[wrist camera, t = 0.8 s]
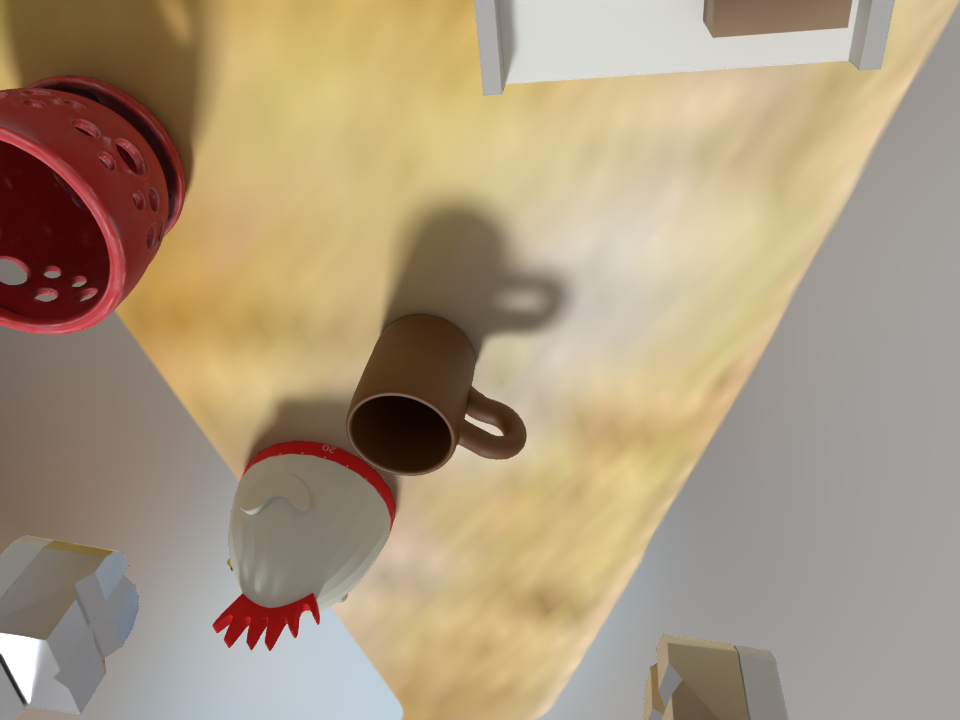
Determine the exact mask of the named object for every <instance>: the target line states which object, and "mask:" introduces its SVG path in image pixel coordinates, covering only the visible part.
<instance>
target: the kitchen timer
mask: <svg viewBox="0 0 960 720" xmlns="http://www.w3.org/2000/svg"><path fill="white" fill-rule="evenodd" d="M394 512H395V504H394V500H393V497H392V494H391V491H390V489H389V487H388V486H387V485H386V483H385V482H384V480H383V479H382V478H381V476H380V475H379V473H377V472H376V471H375V470H374V469H373V468H371V467H370V466H369V465H368V464H367V463H365V462H364V461H363V460H362V459H360V458H358V457H356V456H354V455H352V454H350V453H348V452H346V451H344V450H342V449H340V448H336V447H333V446H329V445H326V444H322V443H318V442H304V441H293V442H287V443H281V444H275V445H273V446H271V447H269V448H267V449H265V450H263V451H261V452H259V453H258V454H257V456H256V457H255V458H254V459H253V460H252V461H251V462H250V463H249V464H248V466H247V468H246V470H245V472H244V473H243V475H242V477H241V480H240V482H239V485H238V488H237V491H236V494H235V497H234V501H233V505H232V510H231V517H230V525H229V534H228V546H229V554H230V558H229V560H228V562H227V563H228V565H229V567H230V568H231V570H232V572H233V575H234V578H235V581H236V583H237V585H238V587H239V589H240V590H241V592H242V595H241V596H239V597H238V598H237V599H236V600H235V601H234V602H233V603H232V604H231V605H230V606H229V607H228V608H227V609H226V610H225V611H224V612H223V613H222V614H221V615H220V617H219V618H218V619H217V620H216V621H215V623H214V624H213V628H214V629H215V631H216V633H219V632H220V631H221V630H223V629H224V628H225V627H226V626H228V625H229V624H230V625H229V628H228V630H227V632H226V635H225V638H224V641H225V643H226V644H227V646H228V647H229V648H230V647H231V646H232V645H233V644H234V642H235V641H236V640H237V639H238V637H239V636H240V635H241V634H242V632H243V631H244V629H245V628H246V627H247V626H249V629H248V634H247V644H248V646H249V648H250V649H251V650H252V649H253V648H254V646H255V645H256V643H257V641H258V640H259V638H260V636H261V634H262V633H263V631H264V629H265V628H266V627H267V630H266V637H265V644H266V646H267V648H268V649H269V651H271V649H272V648H273V646H274V644H275V643H276V641H277V639H278V637H279V636H280V634H281V632H282V630H283V628H284V627H285V625H286V624H288V626H289V629H290V631H291V633H292V635H293V636H294V638H296V637H297V635H298V628H299V619H302V618H305V617H308V616H311V615H313V617H314V619H315V621H316V623H317V624H319V621H320V615H319V612H322V611H324V610H325V609H327V608H329V607H331V606H332V605H333V604H335V603H336V602H337V603H342V602H344V601H345V600H346V599H347V596H348V593H349V592H350V591H351V590H352V589H353V588H355V586H356V585H357V584H358V583H359V582H360V581H361V579H362V578H363V577H364V576H365V574H366V573H367V572H368V570H369V569H370V568H371V566H372V565H373V564H374V562H375V561H376V559H377V557H378V556H379V554H380V552H381V550H382V548H383V547H384V545H385V543H386V541H387V539H388V537H389V535H390V532H391V528H392V525H393V521H394Z"/></svg>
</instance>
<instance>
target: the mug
mask: <svg viewBox="0 0 960 720" xmlns="http://www.w3.org/2000/svg"><path fill="white" fill-rule="evenodd" d="M474 370H475V357H474V352H473V349H472V346H471V344H470V342H469V340H468V339H467V337H466V336H465V335H464V334H463V333H462V332H461V331H460V330H459V329H458V328H457V327H456V326H454V325H453V324H451V323H450V322H448V321H446V320H444V319H441V318H438V317H435V316H430V315H412V316H407V317H403V318H401V319H398V320H396V321H395V322H393V323H392V324H390V325H389V326H388V327H387V328H386V329H385V330H384V331H383V333H382V334H381V336H380V337H379V339H378V341H377V343H376V345H375V347H374V350H373V352H372V354H371V356H370V359H369V361H368V363H367V365H366V367H365V370H364V372H363V374H362V377H361V379H360V381H359V384H358V386H357V389H356V391H355V393H354V396H353V399H352V402H351V405H350V409H349V412H348V415H347V420H346V430H347V435H348V438H349V440H350V443H351V445H352V446H353V448H354V449H355V451H356V452H357V453H358V454H359V455H360V456H361V457H362V458H363V459H364V460H366V461H367V462H368V463H370V464H371V465H373V466H375V467H377V468H379V469H381V470H383V471H386V472H389V473H392V474H397V475H405V476H416V475H423V474H427V473H430V472H433V471H435V470H437V469H439V468H440V467H442V466H443V465H444V464H445V463H446V462H447V461H448V460H449V459H450V458H451V457H452V455H453V453H454V451H455V449H456V446H457V445H461V446H463V447H465V448H467V449H468V450H470V451H472V452H474V453H476V454H478V455H479V456H482V457H485V458H489V459H496V460H497V459H508V458H511V457H513V456H515V455H517V454H518V453H519V452H520V451H521V450H522V449H523V447H524V445H525V442H526V436H527V435H526V428H525V426H524V423H523V421H522V419H521V418H520V417H519V415H518V414H517V413H516V412H515V411H514V410H513V409H511V408H510V407H508V406H507V405H505V404H503V403H500V402H498V401H495V400H492V399H489V398H486V397H485V396H484V395H483V394H481V393H479V392H478V391H477V390H476V389H475V388H474V387H472V381H473V376H474ZM465 414H468V415H469V416H470V417H472V418H474V419H476V420H478V421H481V422H485V423H488V424H491V425H494V426H496V427H497V428H499V429H500V430H501V431H502V433H503V435H504V436H495V435H492V434H490V433H488V432H486V431H484V430H482V429H481V428H479V427H477V426H475V425H473V424H471V423H469V422H468V421H466V420H465V419H464V418H465Z"/></svg>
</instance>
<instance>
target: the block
mask: <svg viewBox="0 0 960 720" xmlns="http://www.w3.org/2000/svg"><path fill="white" fill-rule="evenodd" d="M851 6H852V0H704V10H703V22H704V24H705V25H706V27H707V29H708V30H709V32H710V34H711V36H712V37H713V38H719V37H732V36H745V35H758V34H772V33H785V32H798V31H811V30H824V29H837V28H848V23H849V18H850V12H851Z"/></svg>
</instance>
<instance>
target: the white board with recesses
mask: <svg viewBox="0 0 960 720" xmlns="http://www.w3.org/2000/svg"><path fill="white" fill-rule="evenodd" d="M474 1H475V12H476V22H477V33H478V44H479V54H480V65H481V75H482V86H483V96H487V95H501V94H502V93H503V90H504V87H505V84H516V83H530V82H545V81H559V80H574V79H588V78H603V77H617V76H631V75H646V74H660V73H675V72H689V71H703V70H718V69H732V68H747V67H761V66H776V65H790V64H804V63H819V62H833V61H849V62H851V63H852V64H853V65H854V66H855V67H856V68H857V69H858V70H874V69H881V66H882V61H883V56H884V51H885V46H886V41H887V36H888V31H889V26H890V22H891V17H892V12H893V7H894V2H895V0H852V6H851V12H850V18H849V23H848V28H837V29H824V30H811V31H798V32H785V33H772V34H758V35H745V36H732V37H719V38H713V37H712V36H711V34H710V32H709V30H708V29H707V27H706V25H705V24H704V22H703V10H704V0H474Z"/></svg>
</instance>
